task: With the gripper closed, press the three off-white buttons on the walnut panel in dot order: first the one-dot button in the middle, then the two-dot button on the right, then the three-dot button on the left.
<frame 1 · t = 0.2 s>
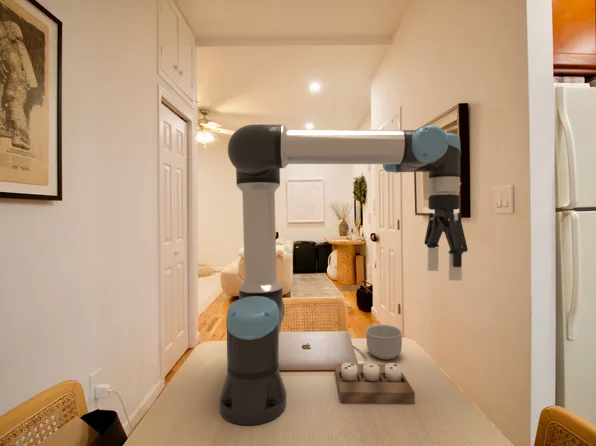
hand: (443, 275, 85), 27 cm above the table, tool pointing down, fingers open, 13 cm apart
button one: (371, 371, 81), point 4 cm above the table, slide at 0.0 cm
panel: (371, 386, 81), on the table
button two: (393, 371, 81), point 4 cm above the table, slide at 0.0 cm
button three: (349, 371, 81), point 4 cm above the table, slide at 0.0 cm
teacup: (382, 353, 101), on the table
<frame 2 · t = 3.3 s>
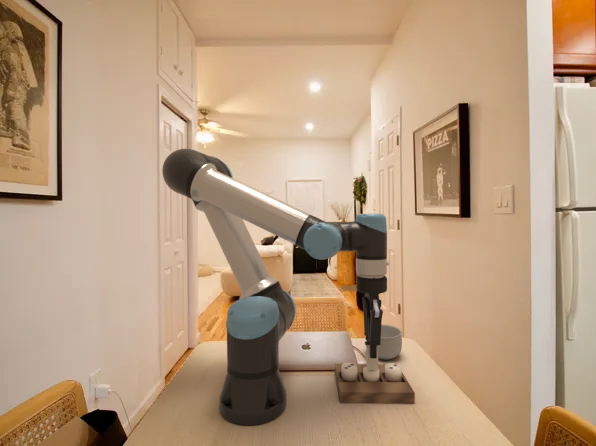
hand: (372, 368, 81), 5 cm above the table, tool pointing down, fingers closed
button one: (371, 374, 81), point 3 cm above the table, slide at 0.8 cm, touching gripper
everything else where it was.
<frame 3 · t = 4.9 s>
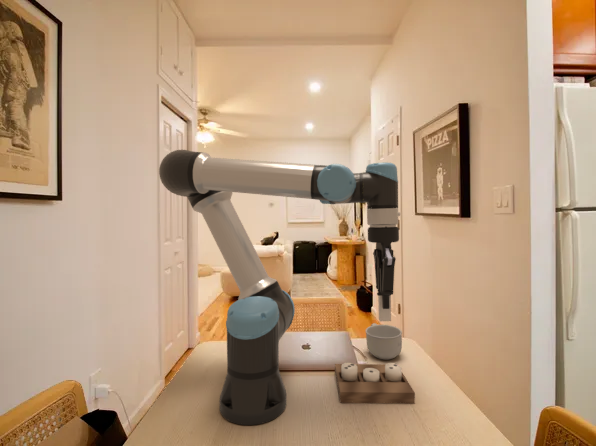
hand: (384, 320, 80), 17 cm above the table, tool pointing down, fingers closed
button one: (371, 376, 81), point 3 cm above the table, slide at 1.3 cm
everything else where it was.
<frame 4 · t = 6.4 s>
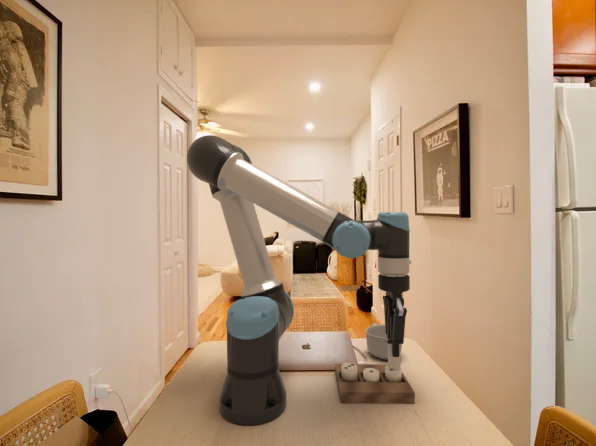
hand: (394, 367, 81), 5 cm above the table, tool pointing down, fingers closed
button two: (393, 373, 81), point 3 cm above the table, slide at 0.5 cm, touching gripper
everything else where it was.
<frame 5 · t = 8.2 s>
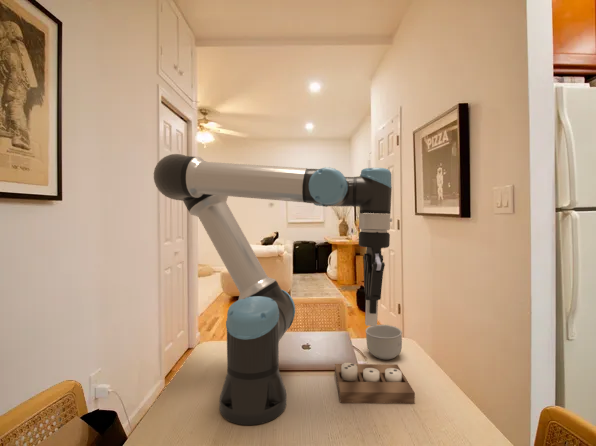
hand: (371, 324, 81), 16 cm above the table, tool pointing down, fingers closed
button two: (393, 376, 81), point 3 cm above the table, slide at 1.3 cm
everything else where it was.
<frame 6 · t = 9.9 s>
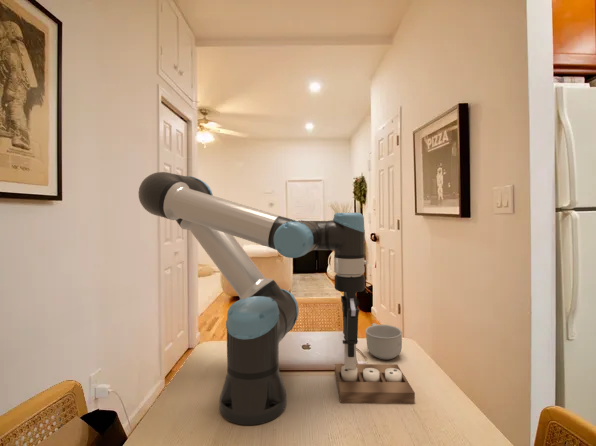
hand: (350, 367, 81), 5 cm above the table, tool pointing down, fingers closed
button three: (349, 373, 81), point 3 cm above the table, slide at 0.5 cm, touching gripper
everything else where it was.
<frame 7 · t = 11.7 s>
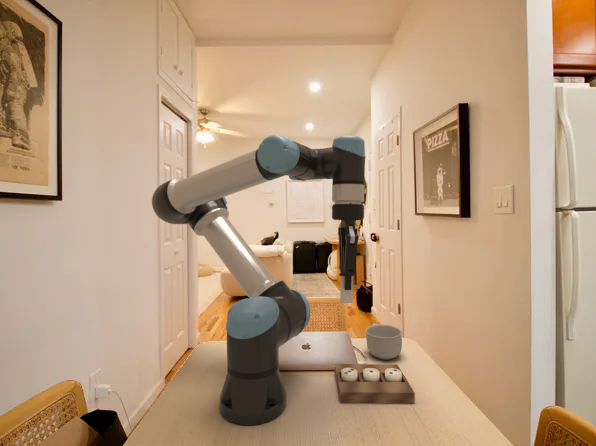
hand: (346, 302, 77), 23 cm above the table, tool pointing down, fingers closed
button three: (349, 376, 81), point 3 cm above the table, slide at 1.3 cm
everything else where it was.
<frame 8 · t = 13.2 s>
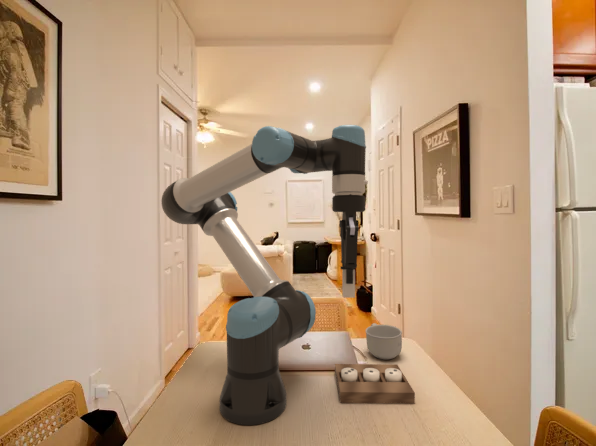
hand: (348, 296, 75), 24 cm above the table, tool pointing down, fingers closed
nothing on the table moved.
at the end: button one slide at 1.3 cm; button two slide at 1.3 cm; button three slide at 1.3 cm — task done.
